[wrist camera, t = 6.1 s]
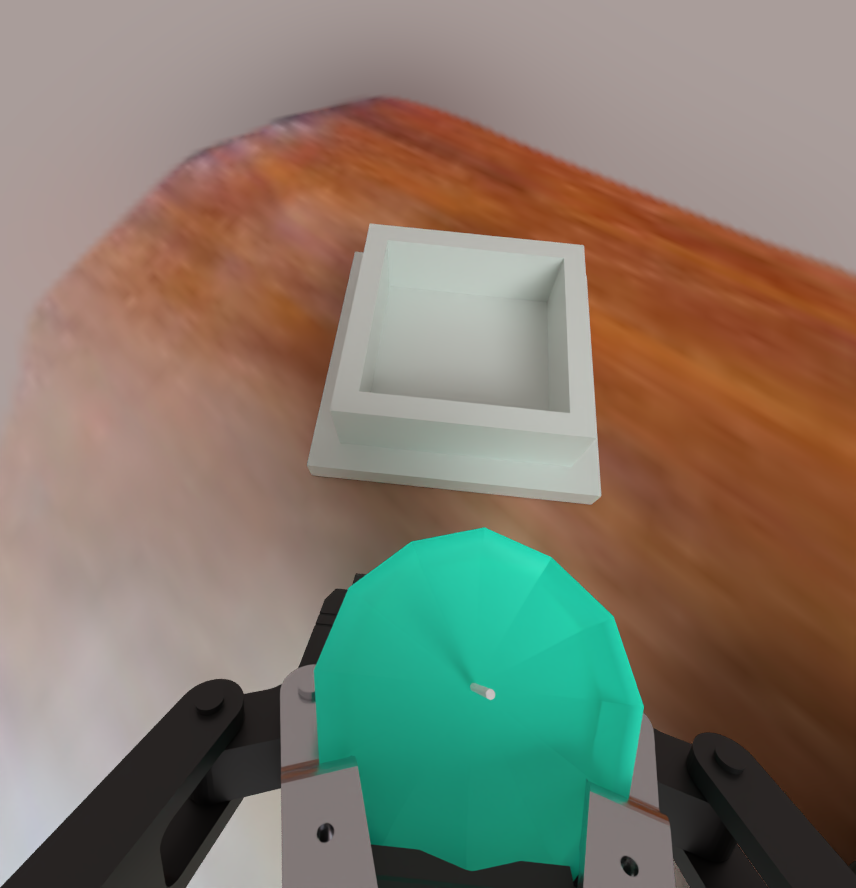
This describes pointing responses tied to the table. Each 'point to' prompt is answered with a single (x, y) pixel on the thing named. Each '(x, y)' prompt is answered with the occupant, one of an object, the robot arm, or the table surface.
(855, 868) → the squash
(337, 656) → the candle
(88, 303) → the table surface
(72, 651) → the table surface
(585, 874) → the robot arm
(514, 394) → the candle stand
